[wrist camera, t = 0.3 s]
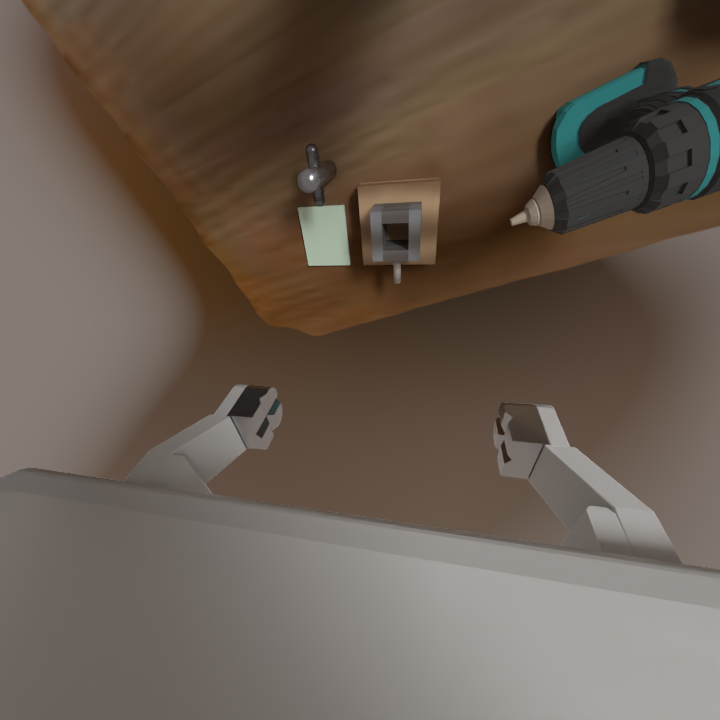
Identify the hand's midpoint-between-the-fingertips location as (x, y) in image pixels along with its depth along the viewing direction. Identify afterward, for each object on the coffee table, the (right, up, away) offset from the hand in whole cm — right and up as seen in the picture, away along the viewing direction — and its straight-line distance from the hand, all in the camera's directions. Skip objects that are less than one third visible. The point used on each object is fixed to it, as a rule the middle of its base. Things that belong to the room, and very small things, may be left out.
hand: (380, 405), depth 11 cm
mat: (-7, +23, +43) cm, 49 cm away
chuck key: (-6, +31, +36) cm, 48 cm away
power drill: (+29, +31, +29) cm, 51 cm away
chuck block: (+6, +23, +40) cm, 46 cm away
